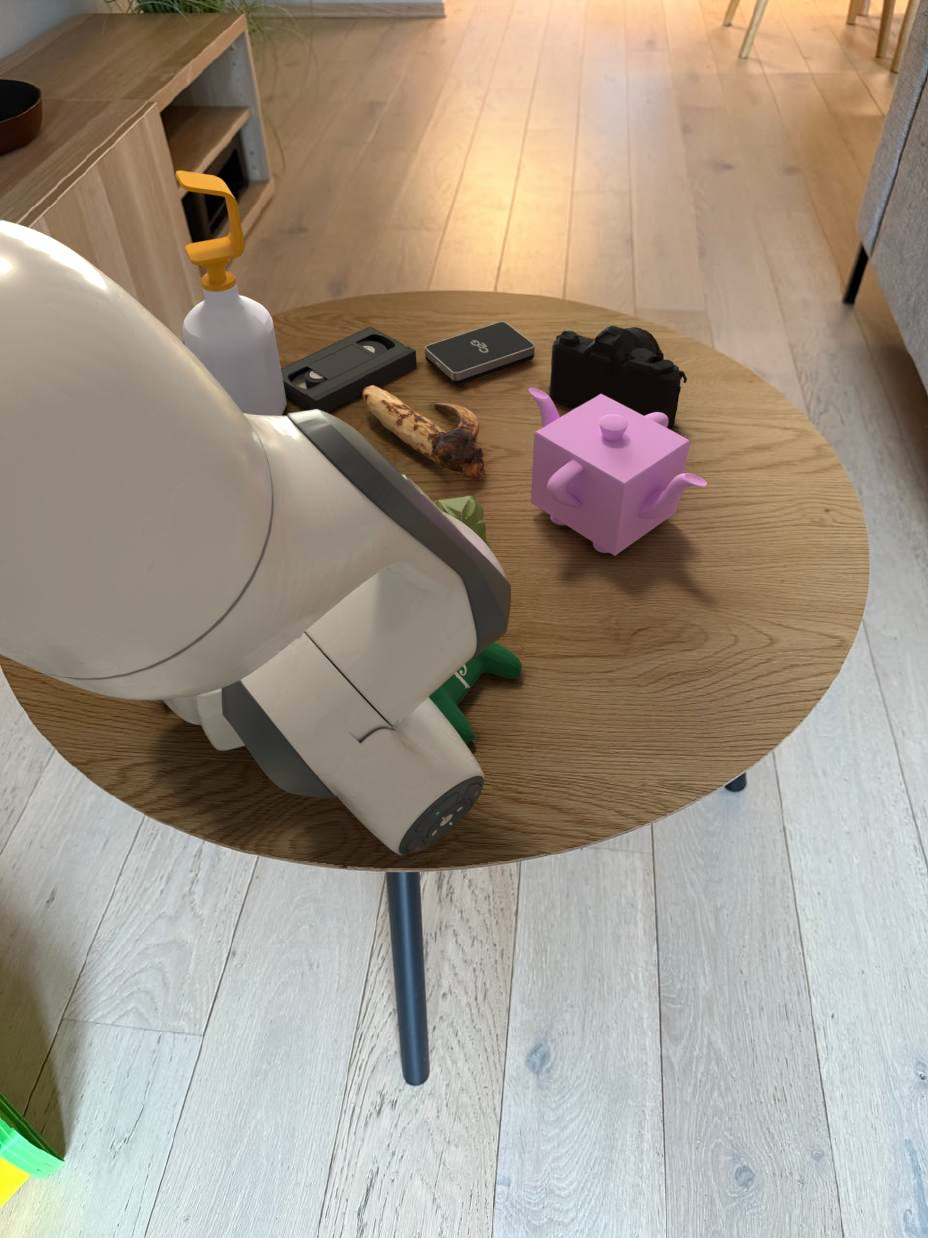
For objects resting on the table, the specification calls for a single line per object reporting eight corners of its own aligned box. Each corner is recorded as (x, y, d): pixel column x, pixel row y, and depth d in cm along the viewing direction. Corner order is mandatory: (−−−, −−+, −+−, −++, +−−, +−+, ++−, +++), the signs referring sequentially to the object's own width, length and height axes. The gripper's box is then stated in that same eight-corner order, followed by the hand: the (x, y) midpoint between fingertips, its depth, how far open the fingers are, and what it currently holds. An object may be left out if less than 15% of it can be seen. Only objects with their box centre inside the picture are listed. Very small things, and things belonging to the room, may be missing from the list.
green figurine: (433, 617, 80) (429, 527, 73) (423, 575, 84) (418, 485, 76) (498, 608, 81) (499, 518, 73) (485, 566, 84) (485, 476, 77)
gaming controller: (500, 675, 78) (455, 621, 76) (530, 666, 75) (484, 609, 73) (441, 754, 72) (391, 697, 71) (471, 747, 69) (419, 688, 68)
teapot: (516, 561, 85) (520, 462, 77) (524, 470, 94) (529, 374, 86) (688, 572, 84) (710, 473, 76) (680, 479, 93) (698, 382, 85)
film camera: (702, 399, 102) (717, 323, 96) (663, 444, 97) (676, 366, 90) (579, 359, 108) (585, 285, 102) (535, 399, 103) (539, 323, 96)
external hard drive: (536, 361, 108) (537, 346, 107) (453, 390, 104) (453, 374, 103) (503, 335, 112) (503, 320, 111) (422, 362, 108) (421, 346, 107)
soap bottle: (194, 398, 104) (136, 165, 86) (275, 379, 106) (234, 149, 88) (212, 442, 98) (154, 202, 80) (297, 421, 100) (258, 184, 83)
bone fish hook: (526, 463, 96) (413, 387, 105) (529, 424, 92) (413, 348, 101) (456, 499, 91) (345, 417, 100) (457, 459, 88) (342, 378, 97)
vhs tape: (371, 340, 112) (370, 325, 110) (416, 366, 108) (415, 350, 106) (274, 388, 105) (271, 372, 103) (318, 416, 101) (316, 400, 99)
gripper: (433, 574, 70) (335, 482, 77) (176, 706, 61) (95, 588, 69) (436, 632, 74) (343, 540, 82) (197, 763, 66) (118, 646, 73)
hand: (227, 562), depth 75 cm, fingers open, 8 cm apart
